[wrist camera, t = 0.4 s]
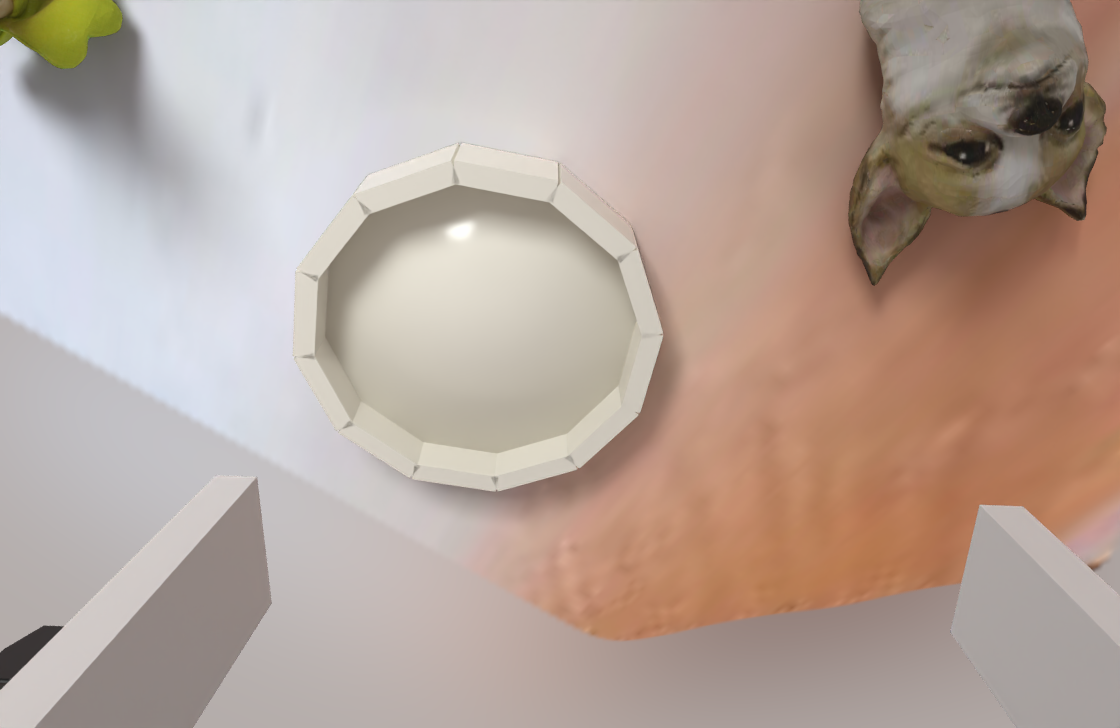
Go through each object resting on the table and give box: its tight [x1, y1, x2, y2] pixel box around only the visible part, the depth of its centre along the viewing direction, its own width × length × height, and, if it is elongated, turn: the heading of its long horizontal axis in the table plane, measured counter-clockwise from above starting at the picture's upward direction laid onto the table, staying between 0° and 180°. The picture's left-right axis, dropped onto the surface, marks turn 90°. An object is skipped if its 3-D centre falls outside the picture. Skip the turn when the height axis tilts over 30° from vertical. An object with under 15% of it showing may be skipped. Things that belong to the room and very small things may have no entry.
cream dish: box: [293, 143, 663, 492], centre depth 37 cm, size 17×17×3 cm
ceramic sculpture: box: [848, 0, 1107, 286], centre depth 30 cm, size 11×9×15 cm
